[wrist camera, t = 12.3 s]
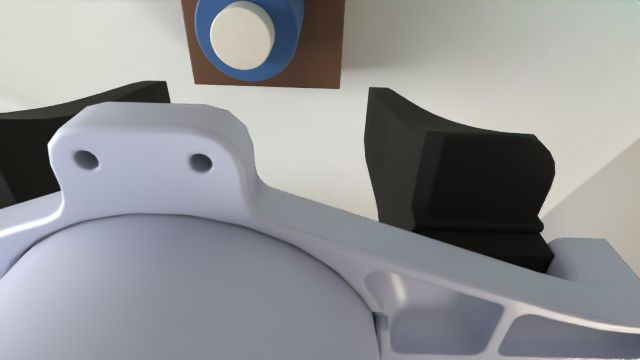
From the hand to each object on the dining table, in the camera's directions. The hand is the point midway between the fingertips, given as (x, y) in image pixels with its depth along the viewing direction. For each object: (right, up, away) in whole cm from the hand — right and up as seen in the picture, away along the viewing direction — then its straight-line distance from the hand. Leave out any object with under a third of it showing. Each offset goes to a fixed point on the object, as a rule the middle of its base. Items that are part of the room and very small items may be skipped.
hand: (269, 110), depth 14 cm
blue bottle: (-1, +6, +5) cm, 8 cm away
